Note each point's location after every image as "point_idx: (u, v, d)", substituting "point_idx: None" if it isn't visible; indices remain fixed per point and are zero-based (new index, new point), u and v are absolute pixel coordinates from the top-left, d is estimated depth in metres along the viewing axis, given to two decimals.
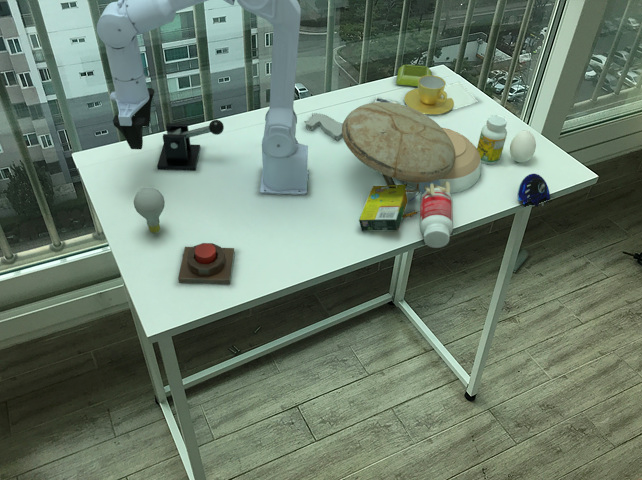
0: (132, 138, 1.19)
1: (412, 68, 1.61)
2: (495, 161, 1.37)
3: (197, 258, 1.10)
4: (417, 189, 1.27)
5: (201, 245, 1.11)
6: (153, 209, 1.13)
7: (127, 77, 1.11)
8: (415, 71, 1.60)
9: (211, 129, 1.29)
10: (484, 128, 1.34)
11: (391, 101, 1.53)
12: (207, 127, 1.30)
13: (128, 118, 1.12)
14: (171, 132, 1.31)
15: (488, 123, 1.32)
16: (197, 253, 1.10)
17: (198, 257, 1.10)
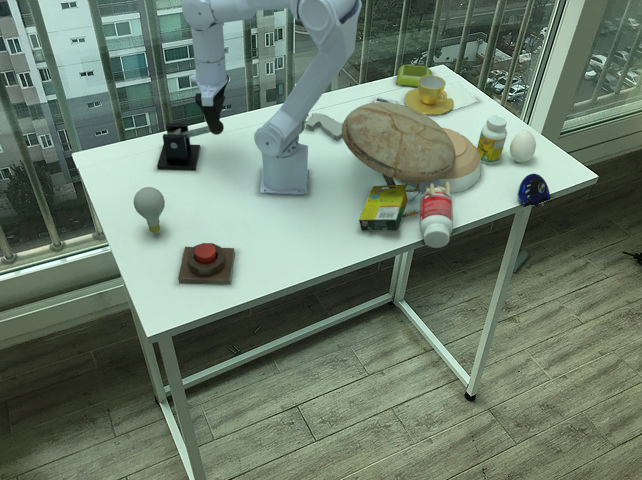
0: (210, 116, 1.24)
1: (412, 68, 1.61)
2: (495, 161, 1.37)
3: (197, 258, 1.10)
4: (417, 189, 1.27)
5: (201, 245, 1.11)
6: (153, 209, 1.13)
7: (203, 59, 1.16)
8: (415, 71, 1.60)
9: (211, 129, 1.29)
10: (484, 128, 1.34)
11: (391, 101, 1.53)
12: (207, 127, 1.30)
13: (211, 99, 1.17)
14: (171, 132, 1.31)
15: (488, 123, 1.32)
16: (197, 253, 1.10)
17: (198, 257, 1.10)
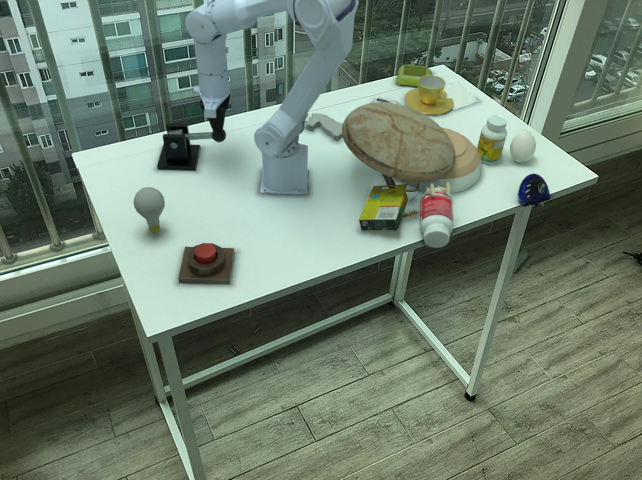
0: (215, 120, 1.28)
1: (412, 68, 1.61)
2: (495, 161, 1.37)
3: (197, 258, 1.10)
4: (417, 189, 1.27)
5: (201, 245, 1.11)
6: (153, 209, 1.13)
7: (206, 71, 1.18)
8: (415, 71, 1.60)
9: (214, 136, 1.30)
10: (484, 128, 1.34)
11: (391, 101, 1.53)
12: (210, 133, 1.31)
13: (214, 110, 1.19)
14: (172, 131, 1.31)
15: (488, 123, 1.32)
16: (197, 253, 1.10)
17: (198, 257, 1.10)
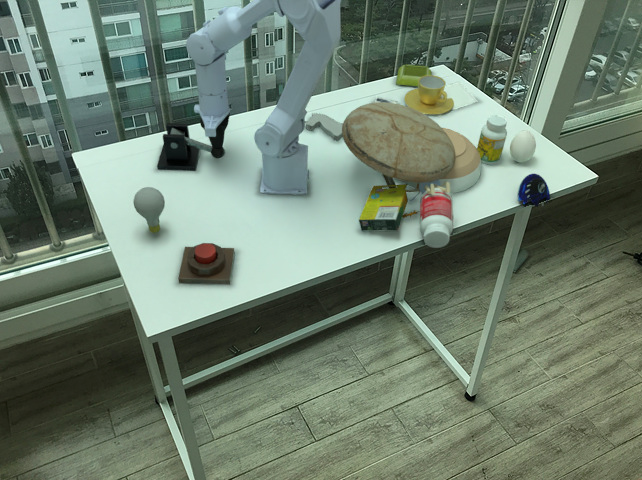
0: (215, 137, 1.31)
1: (412, 68, 1.61)
2: (495, 161, 1.37)
3: (197, 258, 1.10)
4: (417, 189, 1.27)
5: (201, 245, 1.11)
6: (153, 209, 1.13)
7: (206, 92, 1.21)
8: (415, 71, 1.60)
9: (214, 152, 1.33)
10: (484, 128, 1.34)
11: (391, 101, 1.53)
12: (210, 147, 1.33)
13: (213, 130, 1.22)
14: (175, 131, 1.31)
15: (488, 123, 1.32)
16: (197, 253, 1.10)
17: (198, 257, 1.10)
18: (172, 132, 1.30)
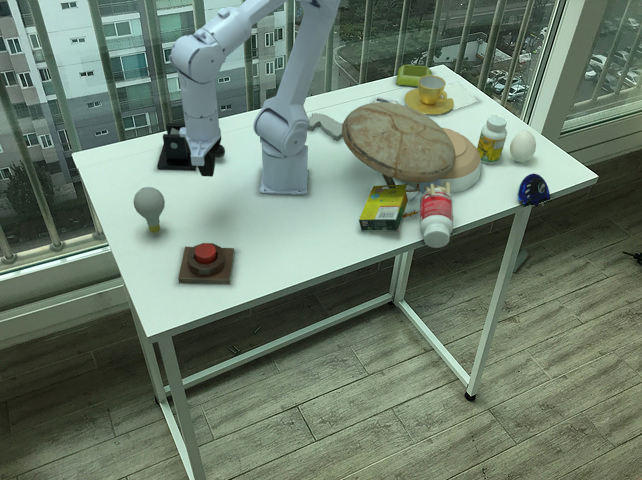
0: (204, 165, 1.13)
1: (412, 68, 1.61)
2: (495, 161, 1.37)
3: (197, 258, 1.10)
4: (417, 189, 1.27)
5: (201, 245, 1.11)
6: (153, 209, 1.13)
7: (213, 110, 1.04)
8: (415, 71, 1.60)
9: None
10: (484, 128, 1.34)
11: (391, 101, 1.53)
12: None
13: (201, 158, 1.04)
14: (175, 131, 1.31)
15: (488, 123, 1.32)
16: (197, 253, 1.10)
17: (198, 257, 1.10)
18: (172, 132, 1.30)
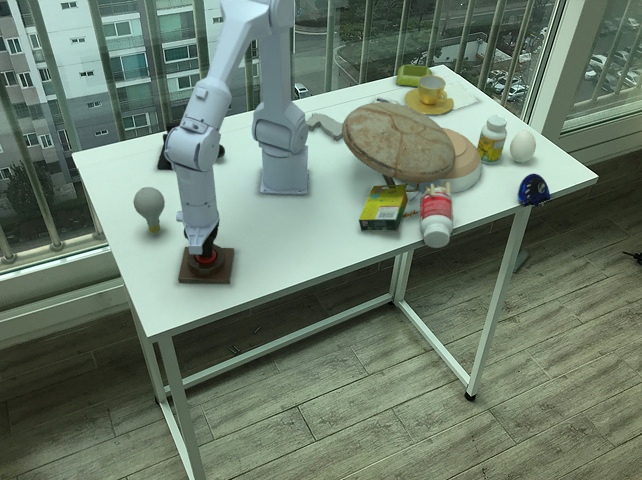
0: (202, 247, 1.09)
1: (412, 68, 1.61)
2: (495, 161, 1.37)
3: (198, 262, 1.11)
4: (417, 189, 1.27)
5: None
6: (153, 209, 1.13)
7: (214, 194, 1.01)
8: (415, 71, 1.60)
9: None
10: (484, 128, 1.34)
11: (391, 101, 1.53)
12: None
13: (199, 247, 1.00)
14: None
15: (488, 123, 1.32)
16: (198, 257, 1.11)
17: (199, 261, 1.10)
18: None
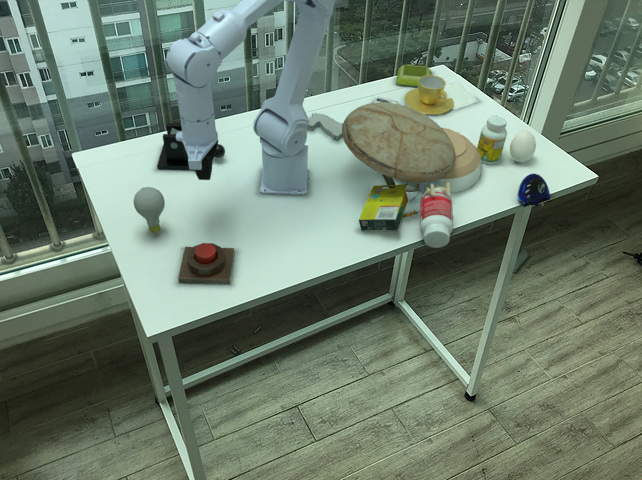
0: (201, 169, 1.13)
1: (412, 68, 1.61)
2: (495, 161, 1.37)
3: (197, 258, 1.10)
4: (417, 189, 1.27)
5: (201, 245, 1.11)
6: (153, 209, 1.13)
7: (209, 114, 1.04)
8: (415, 71, 1.60)
9: None
10: (484, 128, 1.34)
11: (391, 101, 1.53)
12: None
13: (199, 162, 1.04)
14: (175, 131, 1.31)
15: (488, 123, 1.32)
16: (197, 253, 1.10)
17: (198, 257, 1.10)
18: (172, 132, 1.30)
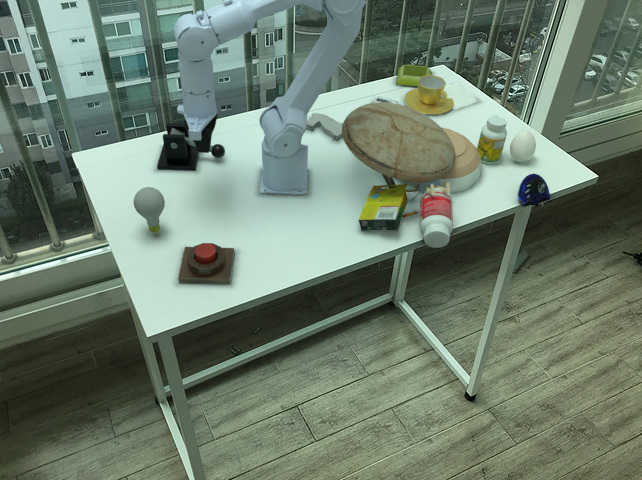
0: (201, 141, 1.18)
1: (412, 68, 1.61)
2: (495, 161, 1.37)
3: (197, 258, 1.10)
4: (417, 189, 1.27)
5: (201, 245, 1.11)
6: (153, 209, 1.13)
7: (203, 90, 1.09)
8: (415, 71, 1.60)
9: (214, 151, 1.33)
10: (484, 128, 1.34)
11: (391, 101, 1.53)
12: (210, 146, 1.33)
13: (198, 133, 1.09)
14: (175, 131, 1.31)
15: (488, 123, 1.32)
16: (197, 253, 1.10)
17: (198, 257, 1.10)
18: (172, 132, 1.30)
